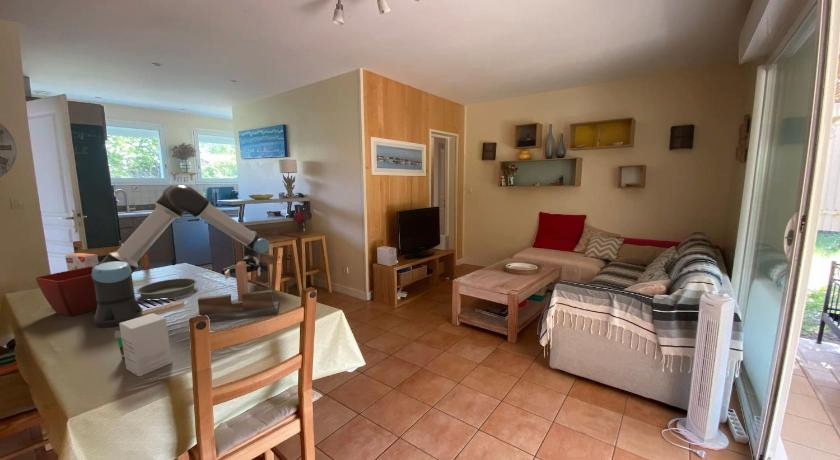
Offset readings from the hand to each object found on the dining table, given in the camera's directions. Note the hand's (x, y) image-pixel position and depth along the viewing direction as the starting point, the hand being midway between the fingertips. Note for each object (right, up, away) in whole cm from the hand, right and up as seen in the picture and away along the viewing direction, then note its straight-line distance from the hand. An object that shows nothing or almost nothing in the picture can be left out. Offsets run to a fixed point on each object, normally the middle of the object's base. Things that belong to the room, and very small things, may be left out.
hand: (242, 274), depth 161 cm
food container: (-10, -20, -45) cm, 51 cm away
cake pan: (-45, -12, +14) cm, 48 cm away
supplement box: (-1, -22, -54) cm, 58 cm away
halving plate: (0, -13, +2) cm, 13 cm away
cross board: (+5, -15, -13) cm, 20 cm away
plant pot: (-68, -15, -7) cm, 70 cm away
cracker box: (-84, -12, +13) cm, 86 cm away
